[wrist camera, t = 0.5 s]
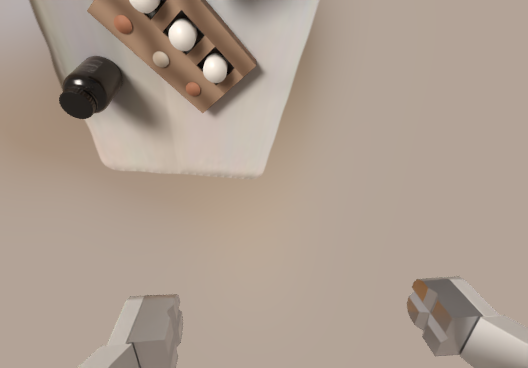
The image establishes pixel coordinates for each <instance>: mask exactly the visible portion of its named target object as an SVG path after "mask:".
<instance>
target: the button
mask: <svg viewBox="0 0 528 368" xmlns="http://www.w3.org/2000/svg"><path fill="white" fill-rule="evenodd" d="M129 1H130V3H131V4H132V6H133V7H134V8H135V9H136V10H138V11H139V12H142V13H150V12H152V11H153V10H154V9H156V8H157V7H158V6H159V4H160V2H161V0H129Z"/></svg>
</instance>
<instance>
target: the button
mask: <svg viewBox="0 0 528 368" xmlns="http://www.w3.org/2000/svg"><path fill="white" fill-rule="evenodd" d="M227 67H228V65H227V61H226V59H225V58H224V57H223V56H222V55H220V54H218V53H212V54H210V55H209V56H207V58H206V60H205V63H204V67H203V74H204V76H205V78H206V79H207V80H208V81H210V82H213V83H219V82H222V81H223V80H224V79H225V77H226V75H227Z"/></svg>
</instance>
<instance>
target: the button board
mask: <svg viewBox="0 0 528 368" xmlns="http://www.w3.org/2000/svg"><path fill="white" fill-rule="evenodd" d="M181 10H182V11H183V12H184V13H185V14H186V15H187V16H188V17H189V18H190V20H191V21H192V22H193V23H194V24H195V25H196V26H197V27H198V28H199V29H200V30H201V32H202V33H203V34H204V35H205V36H204V37H203V38H202V39H201V40H200V41H199V42H198V43H197V44H196V45H195V46H194V47H193V48H192V49H191V50H190V52H189V53H188V54H186V53H185V52H184V51H180V50H178V49H176V48H175V47H174V46H173V45H172V44H171V42H170V40H169V37H168V36H167V35H166V34H165V33H164V32H163V31H164V30H165V28H166V27H167V26H168V25H169V24H170V22H171V21H172V20H173V19H174V18H175V17H176V15H177V14H178V13H179V12H180V11H181ZM87 11H88V12H89V13H90V14H91V15H92V16H93V17H94V18H95V19H97V20H98V21H99V22H100V23H101V24H102V25H103V26H104V27H106V28H107V29H108V30H109V31H110V32H111V33H112V34H114V35H115V36H116V37H117V38H118V39H119V40H120V41H121V42H123V43H124V44H125V45H126V46H127V47H128V48H129V49H131V50H132V51H133V52H134V53H135V54H136V55H137V56H138V57H140V58H141V59H142V60H143V61H144V62H145V63H146V64H147V65H149V66H150V67H151V68H152V69H153V70H154V71H155V72H157V73H158V74H159V75H160V76H161V77H162V78H163V79H164V80H166V81H167V82H168V83H169V84H170V85H171V86H172V87H174V88H175V89H176V90H177V91H178V92H179V93H180V94H181V95H183V96H184V97H185V98H186V99H187V100H188V101H189V102H190V103H192V104H193V105H194V106H195V107H196V108H197V109H198V110H200V111H201V112H202V113H204V112H205V111H206V110H207V109H208V108H209V107H211V106H212V105H213V104H214V103H215V102H216V101H217V100H218V99H220V98H221V97H222V96H223V95H224V94H225V93H226V92H227V91H229V90H230V89H231V88H232V87H233V86H234V85H235V84H236V83H238V82H239V81H240V80H241V79H242V78H243V77H244V76H245V75H247V74H248V73H249V72H250V71H251V70H252V69H253V68H254V67H256V59H255V58H254V57H253V56H252V55H251V53H250V52H249V51H248V50H247V49H246V47H245V46H244V45H243V44H242V43H241V42H240V40H239V39H238V38H237V37H236V36H235V34H234V33H233V32H232V31H231V30H230V28H229V27H228V26H227V25H226V24H225V23H224V21H223V20H222V19H221V18H220V17H219V15H218V14H217V13H216V12H215V11H214V10H213V8H212V7H211V6H210V5H209V4H208V2H207V1H206V0H166V2H165V3H164V4H163V5H162V7H161V8H160V9H159V10H158V12H157V13H156V14H155V15H154V17H153V18H152V19H150V18H149V17H148V16H147V15H146V14H145V13H142V12H139V11H138V10H136V9H135V8H134V7H133V6H132V4H131V3H130V1H129V0H94V1H93V3H92V4H91V6H90V7H89V9H88V10H87ZM214 47H216V48H217V49H218V50H219V51H220V52H221V53H222V55H223V56H224V57H225V58H226V59H227V60H228V61H229V62H230V63H231V64H232V65H233V67H234V69H233V70H232V71H231V72H230V73H228V74H227V75H226V77H225V79H224V80H223V81H222V82H219V83H218V84H216V83H213V82H210V81H208V80H207V79H206V78H205V76H204V74H203V70H202V69H201V68H200V67H199V66H198V65H197V64H198V63H199V62H200V61H201V60H202V59H203V58H204V57H205V56H206V55H207V54H208V53H209V52H210V51H211V50H212V49H213V48H214Z"/></svg>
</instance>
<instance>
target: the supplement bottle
mask: <svg viewBox="0 0 528 368" xmlns="http://www.w3.org/2000/svg"><path fill="white" fill-rule="evenodd" d="M122 82H123V79H122V74H121V72H120V70H119V69H118V67H117V66H116V65H115V64H114V63H113V62H111V61H110V60H108V59H106V58H103V57H100V56H92V57H89V58H87V59H86V60H85V61H83V62H82V63H81V64H80V65H79V66H78V67H77V68H76V69H75V70H74V71H73V72H72V73H71V74H69V75H68V76H67V77H66V79H65V80H64V82H63V85H62V89H63V93H62V94H61V95H60V98H59V101H60V104H61V107H62V108H63V109H64V111H66V112H67V113H68V114H69V115H71V116H73V117H75V118H79V119H86V118H89V117H91V116H92V115H93V114H94V113H99V112H102V111H103V110H105V109H106V108H107V106H108V105H109V104H110V102H111V101H112V99H113V98H114V96H115V95H116V93H117V92H118V91H119V89H120V88H121V86H122Z"/></svg>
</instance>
